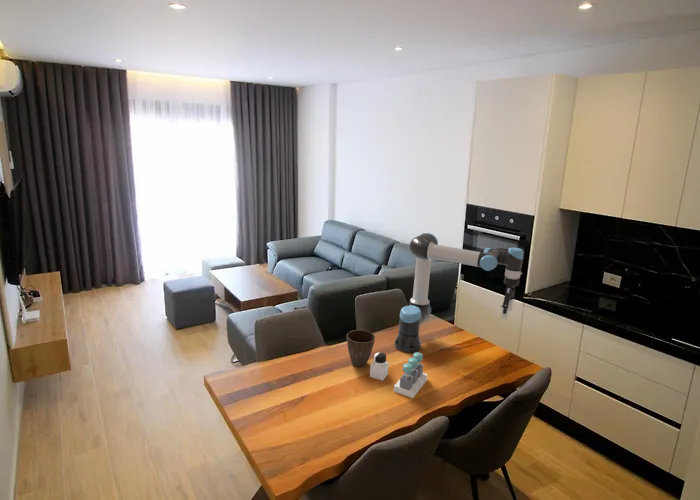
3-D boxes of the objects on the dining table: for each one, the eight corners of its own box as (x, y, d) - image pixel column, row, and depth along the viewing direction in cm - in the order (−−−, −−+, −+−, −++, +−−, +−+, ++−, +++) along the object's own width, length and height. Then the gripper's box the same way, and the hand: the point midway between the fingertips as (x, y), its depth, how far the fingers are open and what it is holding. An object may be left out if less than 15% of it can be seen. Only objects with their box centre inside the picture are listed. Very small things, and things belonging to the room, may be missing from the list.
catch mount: (393, 391, 206) (394, 376, 203) (408, 373, 222) (410, 359, 220) (413, 398, 201) (414, 383, 199) (427, 379, 217) (428, 365, 215)
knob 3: (410, 369, 214) (412, 355, 212) (414, 365, 218) (415, 351, 216) (419, 371, 212) (420, 357, 210) (422, 367, 216) (424, 354, 214)
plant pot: (352, 354, 239) (354, 327, 235) (377, 361, 233) (379, 333, 228) (340, 366, 226) (341, 338, 222) (366, 373, 220) (368, 345, 215)
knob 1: (400, 380, 203) (401, 366, 201) (404, 376, 207) (405, 362, 205) (409, 384, 201) (410, 369, 199) (413, 379, 205) (414, 365, 203)
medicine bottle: (387, 374, 220) (389, 353, 217) (382, 381, 214) (384, 359, 211) (374, 370, 223) (376, 349, 220) (369, 377, 217) (371, 355, 214)
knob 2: (405, 374, 209) (407, 360, 207) (409, 370, 213) (410, 356, 211) (414, 377, 207) (416, 363, 205) (418, 373, 210) (419, 359, 209)
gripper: (515, 285, 214) (509, 324, 219) (523, 272, 235) (517, 309, 240) (500, 282, 217) (494, 320, 223) (509, 270, 238) (503, 305, 244)
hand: (506, 314), depth 231 cm, fingers open, 13 cm apart
